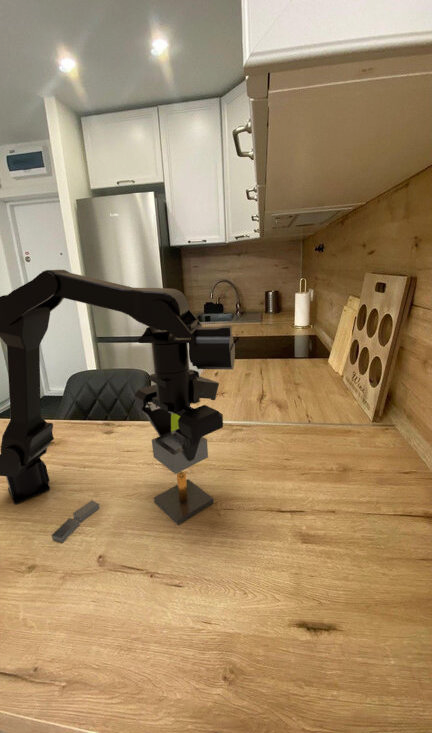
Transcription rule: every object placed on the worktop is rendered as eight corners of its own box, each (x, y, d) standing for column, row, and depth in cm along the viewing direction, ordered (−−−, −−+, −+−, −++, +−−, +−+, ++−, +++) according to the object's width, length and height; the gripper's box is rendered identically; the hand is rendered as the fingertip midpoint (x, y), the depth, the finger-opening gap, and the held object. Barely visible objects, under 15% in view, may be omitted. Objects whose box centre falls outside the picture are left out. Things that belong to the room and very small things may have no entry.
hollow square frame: (175, 474, 54) (173, 455, 53) (153, 457, 59) (151, 439, 58) (208, 457, 59) (207, 439, 57) (185, 443, 64) (183, 426, 63)
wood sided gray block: (62, 544, 54) (61, 537, 53) (53, 541, 54) (51, 535, 54) (79, 526, 57) (78, 520, 57) (70, 524, 58) (69, 517, 58)
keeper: (178, 525, 56) (175, 496, 54) (154, 501, 62) (151, 474, 60) (213, 502, 61) (212, 475, 59) (188, 483, 67) (186, 457, 65)
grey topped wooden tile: (81, 523, 58) (79, 517, 58) (74, 519, 59) (72, 513, 59) (99, 509, 61) (98, 503, 61) (93, 506, 62) (91, 500, 62)
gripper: (247, 368, 52) (248, 454, 56) (180, 349, 66) (185, 420, 70) (190, 387, 45) (197, 483, 50) (128, 361, 59) (138, 438, 63)
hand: (178, 451), depth 58 cm, fingers closed on hollow square frame, 7 cm apart
